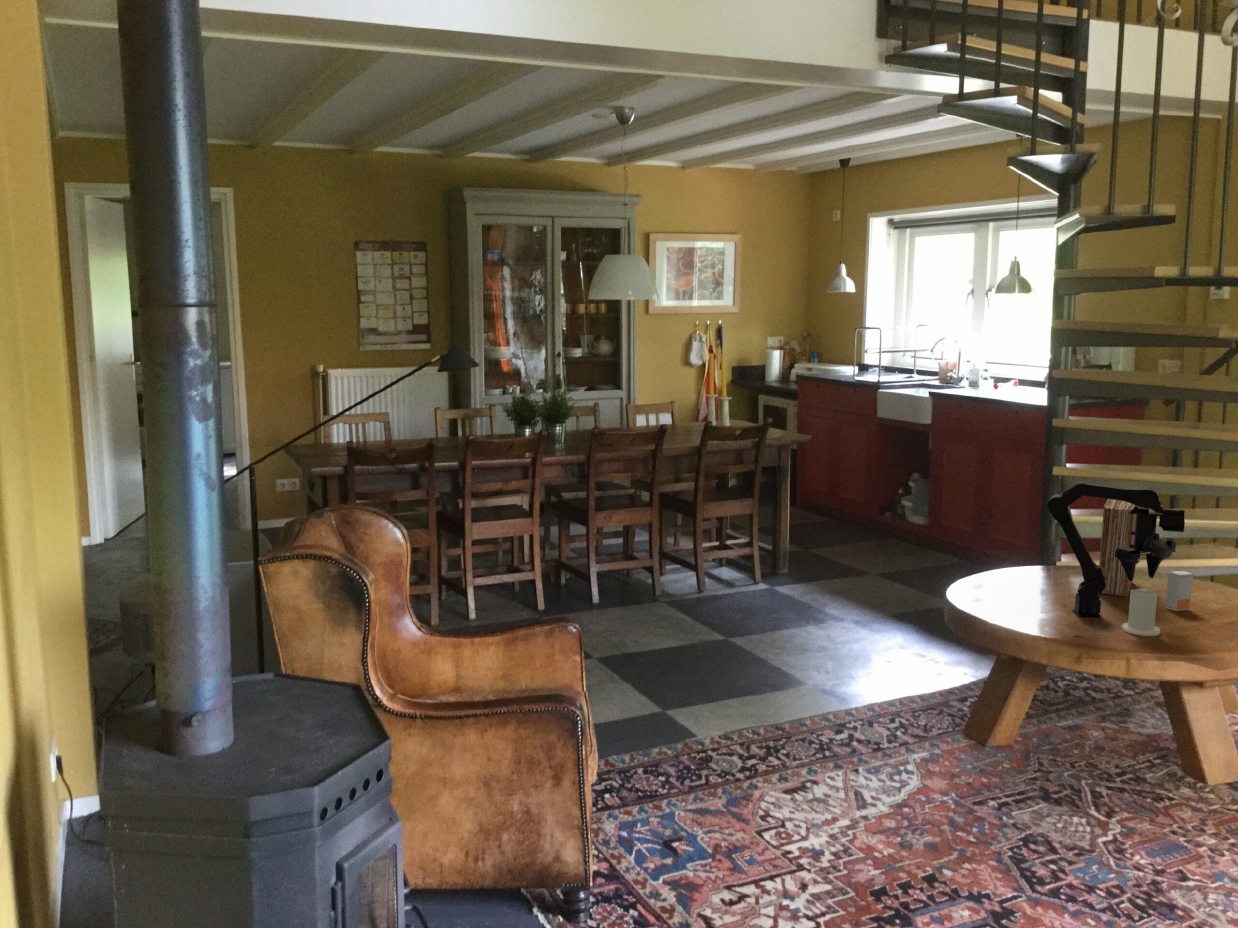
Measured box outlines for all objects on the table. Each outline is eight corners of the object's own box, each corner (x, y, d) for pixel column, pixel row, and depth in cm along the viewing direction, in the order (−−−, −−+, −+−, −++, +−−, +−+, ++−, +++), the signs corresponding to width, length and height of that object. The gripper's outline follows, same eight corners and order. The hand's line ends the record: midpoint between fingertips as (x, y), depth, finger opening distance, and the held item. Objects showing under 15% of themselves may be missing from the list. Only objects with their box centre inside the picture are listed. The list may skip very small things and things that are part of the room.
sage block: (1141, 630, 304) (1145, 594, 302) (1127, 625, 308) (1130, 589, 307) (1154, 628, 306) (1157, 592, 304) (1139, 624, 310) (1143, 588, 309)
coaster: (1131, 635, 302) (1131, 631, 302) (1116, 625, 312) (1116, 621, 312) (1166, 636, 302) (1166, 632, 302) (1149, 626, 312) (1150, 622, 312)
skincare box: (1175, 611, 328) (1178, 574, 327) (1164, 607, 332) (1167, 571, 331) (1190, 610, 330) (1194, 573, 328) (1180, 606, 334) (1183, 570, 332)
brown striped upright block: (1126, 598, 343) (1134, 509, 339) (1096, 594, 348) (1103, 506, 343) (1131, 581, 365) (1139, 497, 361) (1103, 578, 370) (1109, 495, 365)
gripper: (1148, 536, 303) (1143, 588, 305) (1190, 531, 311) (1185, 582, 313) (1115, 529, 313) (1111, 580, 315) (1156, 524, 321) (1152, 573, 323)
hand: (1141, 579), depth 316 cm, fingers open, 9 cm apart
